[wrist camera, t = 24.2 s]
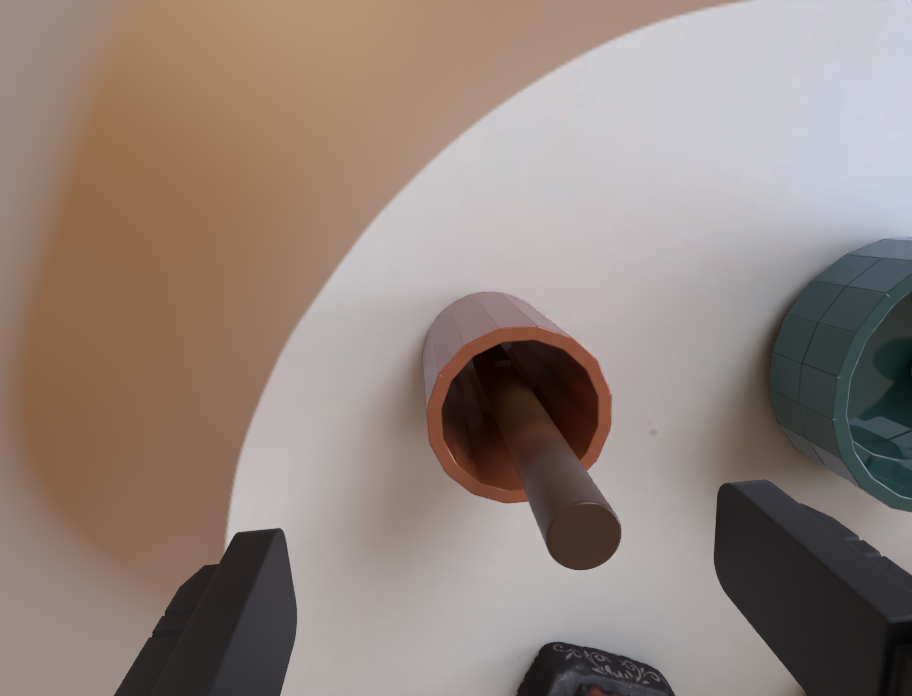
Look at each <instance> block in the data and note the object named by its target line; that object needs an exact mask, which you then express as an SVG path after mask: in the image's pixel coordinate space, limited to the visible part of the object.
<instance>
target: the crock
mask: <svg viewBox="0 0 912 696" xmlns="http://www.w3.org/2000/svg"><path fill="white" fill-rule="evenodd" d="M498 344H501V346H502V347H503V349H504V350H505V352H506V353H507V354H508V356H509V357H510V359H511V361H512V362H513V364H514V365H515V367H516V368H517V369H518V371H519V372H520V374H521V375H522V377H523V378H524V380H525V381H526V383H527V384H528V386H529V387H530V389H531V390H532V392H533V393H534V395H535V396H536V397H537V399H538V400H539V402H540V403H541V405H542V406H543V408H544V409H545V411H546V412H547V414H548V415H549V417H550V418H551V420H552V421H553V423H554V424H555V425H556V427H557V428H558V430H559V431H560V433H561V434H562V436H563V437H564V439H565V440H566V442H567V443H568V445H569V446H570V448H571V449H572V450H573V452H574V453H575V455H576V456H577V458H578V459H579V461H580V462H581V464H582V465H583V467H584V468H585V470H586V471H587V470H588V469H589V468H590V467H591V466H592V465H593V464H594V463H595V462H596V461H597V459H598V458H599V455H600V453H601V451H602V448H603V446H604V443H605V441H606V439H607V436H608V434H609V432H610V429H611V416H612V394H611V390H610V387H609V385H608V383H607V380H606V378H605V376H604V374H603V371H602V369H601V367H600V364H599V362H598V361H597V359H596V358H595V357H593V356H592V355H591V354H590V353H589V352H588V351H587V350H586V349H585V348H583V347H582V346H581V345H580V344H579V343H578V342H577V341H576V340H575V339H573V338H572V337H571V336H570V335H568V334H567V333H566V332H565V331H563V330H562V329H561V328H559V327H558V326H557V325H555V324H554V323H553V322H551V321H550V320H549V319H548V318H546V317H545V316H544V315H542V314H541V313H540V312H538V311H537V310H536V309H535V308H533V307H532V306H531V305H529V304H528V303H527V302H525V301H524V300H521V299H518V298H516V297H513V296H511V295H507V294H504V293H497V292H483V293H476V294H472V295H469V296H466V297H464V298H461V299H459V300H457V301H456V302H454V303H452V304H451V305H450V306H448V307H447V308H446V309H445V310H444V311H443V312H442V313H441V314H440V315H439V316H438V317H437V318H436V320H435V321H434V322H433V324H432V326H431V328H430V329H429V332H428V334H427V336H426V340H425V343H424V348H423V352H422V356H423V370H424V384H425V397H426V411H427V424H428V436H429V442H430V446H431V447H432V449H433V451H434V453H435V455H436V457H437V458H438V460H439V462H440V464H441V466H442V468H443V469H444V471H445V472H446V474H447V475H449V476H450V477H451V478H452V479H454V480H455V481H456V482H458V483H459V484H460V485H461V486H463V487H464V488H465V489H467V490H468V491H469V492H470V493H472V494H474V495H477V496H481V497H484V498H488V499H492V500H495V501H499V502H502V503H517V502H527V501H528V499H527V497H526V494H525V492H524V489H523V487H522V484H521V482H520V479H519V477H518V475H517V472H516V470H515V467H514V465H513V462H512V460H511V457H510V455H509V452H508V450H507V447H506V445H505V442H504V440H503V437H502V435H501V433H500V430H499V428H498V425H497V423H496V420H495V418H494V415H493V413H492V410H491V408H490V405H489V403H488V400H487V398H486V396H485V393H484V391H483V388H482V386H481V383H480V381H479V378H478V376H477V373H476V371H475V368H474V366H473V357H474V356H476V355H478V354H480V353H482V352H484V351H486V350H488V349H490V348H492V347H494V346H496V345H498Z"/></svg>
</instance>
